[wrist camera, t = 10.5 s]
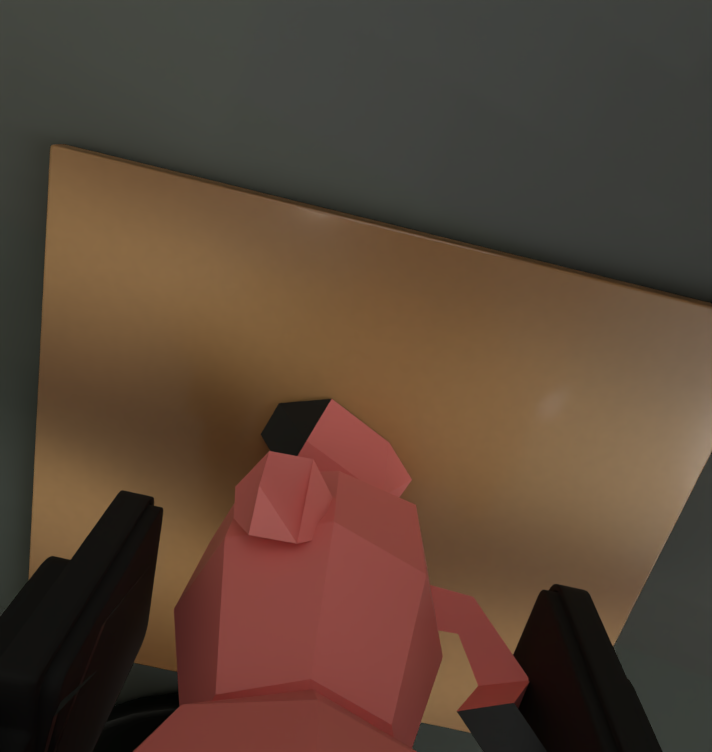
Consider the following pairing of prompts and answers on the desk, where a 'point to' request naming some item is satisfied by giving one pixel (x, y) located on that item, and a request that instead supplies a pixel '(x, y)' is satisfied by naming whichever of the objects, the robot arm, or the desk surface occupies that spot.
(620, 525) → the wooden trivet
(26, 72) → the desk surface
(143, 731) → the french press
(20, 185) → the desk surface
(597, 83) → the desk surface
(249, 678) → the cat figurine
